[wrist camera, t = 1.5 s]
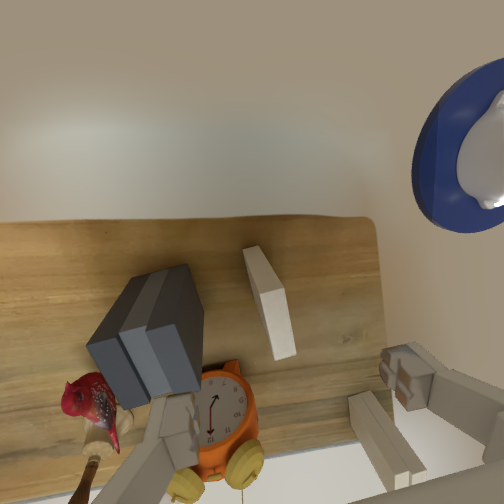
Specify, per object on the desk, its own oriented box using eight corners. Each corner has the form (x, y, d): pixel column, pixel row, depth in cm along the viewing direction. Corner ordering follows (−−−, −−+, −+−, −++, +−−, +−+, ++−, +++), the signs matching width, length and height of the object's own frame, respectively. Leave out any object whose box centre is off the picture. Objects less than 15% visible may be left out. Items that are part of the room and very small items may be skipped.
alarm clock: (245, 354, 44) (272, 491, 26) (250, 379, 47) (277, 522, 28) (172, 371, 43) (143, 529, 24) (180, 396, 45) (159, 558, 27)
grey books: (187, 263, 37) (174, 323, 23) (204, 312, 40) (201, 390, 26) (131, 277, 36) (83, 348, 22) (153, 326, 39) (122, 414, 26)
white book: (258, 245, 38) (284, 287, 25) (268, 294, 41) (296, 354, 28) (242, 249, 38) (259, 294, 25) (253, 298, 41) (274, 361, 28)
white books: (370, 389, 53) (427, 469, 39) (371, 417, 56) (424, 500, 43) (347, 397, 53) (397, 480, 39) (350, 424, 56) (397, 510, 42)
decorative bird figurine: (103, 338, 39) (69, 393, 29) (138, 415, 45) (120, 480, 36) (84, 343, 38) (44, 400, 29) (122, 419, 45) (99, 486, 35)
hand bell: (143, 413, 45) (111, 536, 30) (116, 441, 46) (73, 572, 32) (101, 396, 42) (42, 521, 27) (74, 426, 44) (4, 561, 29)
